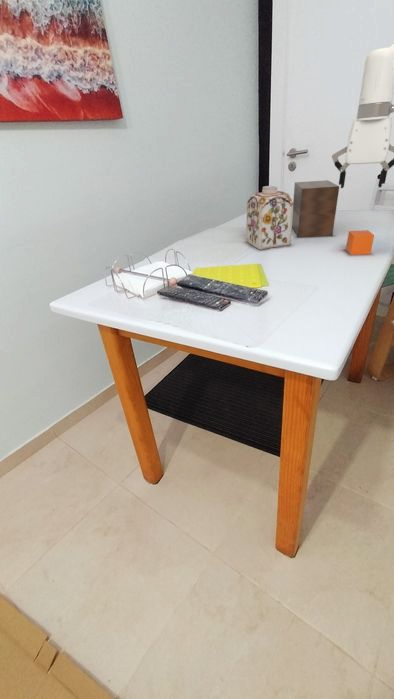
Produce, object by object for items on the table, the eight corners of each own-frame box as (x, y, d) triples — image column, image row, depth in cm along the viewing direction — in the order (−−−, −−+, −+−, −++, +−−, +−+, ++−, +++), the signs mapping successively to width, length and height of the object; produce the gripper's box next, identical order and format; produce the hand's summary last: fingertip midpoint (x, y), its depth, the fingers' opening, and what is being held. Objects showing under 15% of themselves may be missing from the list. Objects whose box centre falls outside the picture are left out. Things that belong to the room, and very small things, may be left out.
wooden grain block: (322, 225, 133) (327, 180, 125) (332, 235, 119) (339, 186, 111) (291, 226, 135) (294, 182, 126) (297, 237, 121) (301, 188, 112)
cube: (364, 248, 104) (368, 230, 101) (370, 254, 100) (374, 234, 97) (345, 249, 105) (348, 231, 102) (350, 255, 100) (354, 235, 97)
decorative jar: (245, 241, 120) (246, 186, 111) (275, 237, 122) (278, 183, 113) (259, 250, 111) (260, 190, 101) (291, 245, 113) (296, 186, 103)
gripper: (411, 109, 85) (394, 184, 94) (337, 116, 91) (329, 186, 100) (414, 108, 79) (396, 188, 88) (335, 116, 85) (326, 189, 95)
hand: (360, 187), depth 94 cm, fingers open, 9 cm apart
